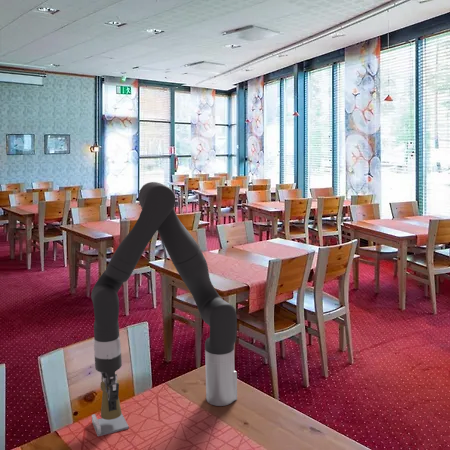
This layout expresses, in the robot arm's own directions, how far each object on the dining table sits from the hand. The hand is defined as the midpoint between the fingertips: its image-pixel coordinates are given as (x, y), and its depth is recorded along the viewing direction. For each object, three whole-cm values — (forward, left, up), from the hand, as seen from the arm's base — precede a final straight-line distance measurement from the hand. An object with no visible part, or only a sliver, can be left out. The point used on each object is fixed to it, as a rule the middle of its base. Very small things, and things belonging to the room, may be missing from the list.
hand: (110, 406), depth 148 cm
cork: (0, 0, -2) cm, 2 cm away
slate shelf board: (0, 0, -6) cm, 6 cm away
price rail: (+4, 0, -6) cm, 7 cm away
